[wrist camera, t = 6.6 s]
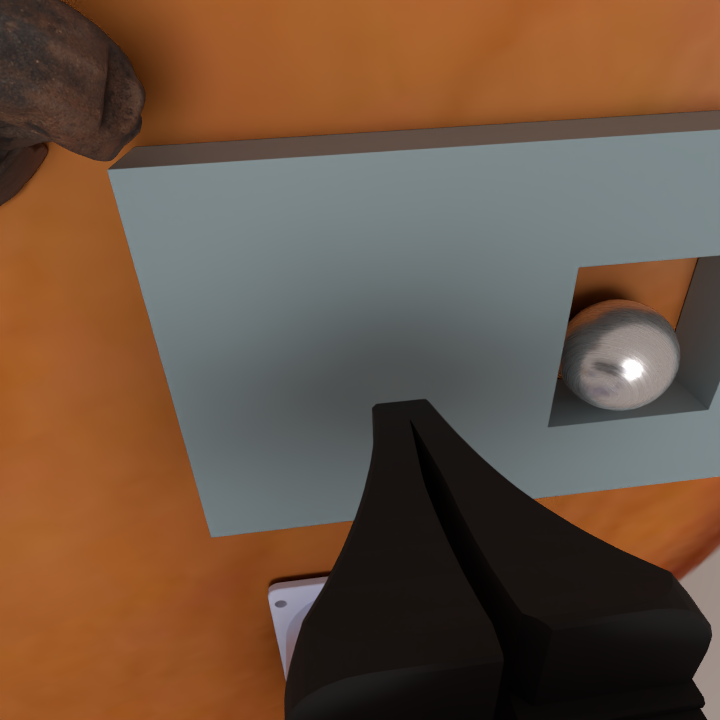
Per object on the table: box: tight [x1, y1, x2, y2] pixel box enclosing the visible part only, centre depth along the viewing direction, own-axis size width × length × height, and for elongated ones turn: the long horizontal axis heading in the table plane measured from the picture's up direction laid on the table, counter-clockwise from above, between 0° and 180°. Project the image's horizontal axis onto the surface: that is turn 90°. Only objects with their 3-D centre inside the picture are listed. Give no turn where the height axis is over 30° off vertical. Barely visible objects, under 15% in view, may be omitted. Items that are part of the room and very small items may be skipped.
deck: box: [107, 110, 720, 538], centre depth 17 cm, size 12×20×2 cm, turn 92°
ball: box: [559, 299, 680, 411], centre depth 17 cm, size 4×4×4 cm
